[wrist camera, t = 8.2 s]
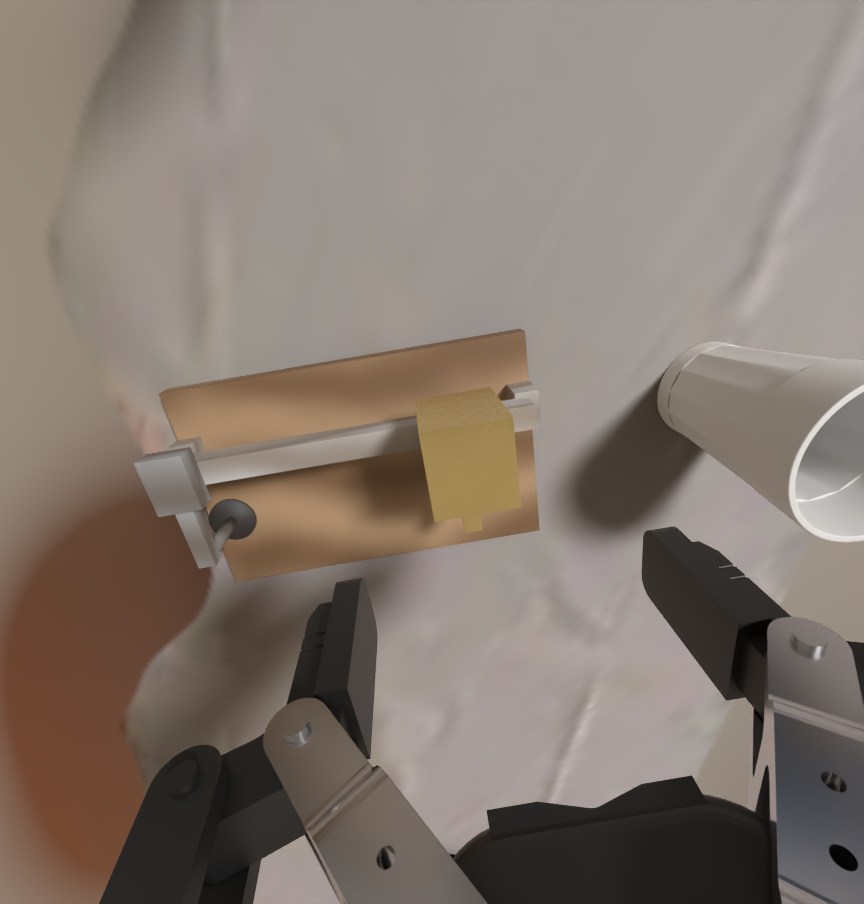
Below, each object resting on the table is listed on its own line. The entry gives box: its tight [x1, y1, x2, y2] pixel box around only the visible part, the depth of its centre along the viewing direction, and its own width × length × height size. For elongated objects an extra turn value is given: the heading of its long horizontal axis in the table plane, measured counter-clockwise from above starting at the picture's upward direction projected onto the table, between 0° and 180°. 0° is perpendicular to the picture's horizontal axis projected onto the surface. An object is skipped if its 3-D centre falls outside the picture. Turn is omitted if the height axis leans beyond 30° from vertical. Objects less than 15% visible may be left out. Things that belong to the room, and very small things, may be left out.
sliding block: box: [415, 387, 521, 533], centre depth 24 cm, size 8×4×9 cm, turn 9°
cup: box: [657, 342, 864, 542], centre depth 24 cm, size 8×8×12 cm
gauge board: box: [134, 329, 541, 582], centre depth 27 cm, size 14×22×6 cm, turn 99°
